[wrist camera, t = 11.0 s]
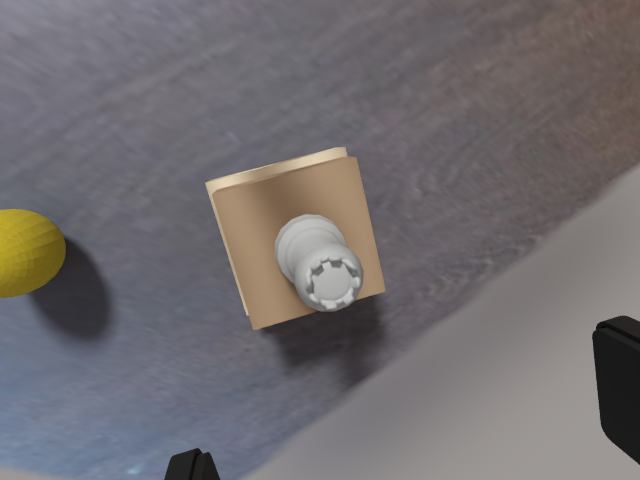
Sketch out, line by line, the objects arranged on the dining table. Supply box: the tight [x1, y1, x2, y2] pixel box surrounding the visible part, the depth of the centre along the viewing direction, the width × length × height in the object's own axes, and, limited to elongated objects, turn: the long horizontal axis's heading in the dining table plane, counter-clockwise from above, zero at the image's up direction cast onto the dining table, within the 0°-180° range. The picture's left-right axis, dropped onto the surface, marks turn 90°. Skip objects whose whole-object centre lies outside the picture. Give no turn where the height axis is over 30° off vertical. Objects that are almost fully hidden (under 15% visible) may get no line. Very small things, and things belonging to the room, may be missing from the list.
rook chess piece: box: [274, 214, 364, 311], centre depth 22 cm, size 4×4×8 cm
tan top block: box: [212, 157, 386, 330], centre depth 28 cm, size 9×9×4 cm
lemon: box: [0, 209, 66, 298], centre depth 26 cm, size 6×6×8 cm
